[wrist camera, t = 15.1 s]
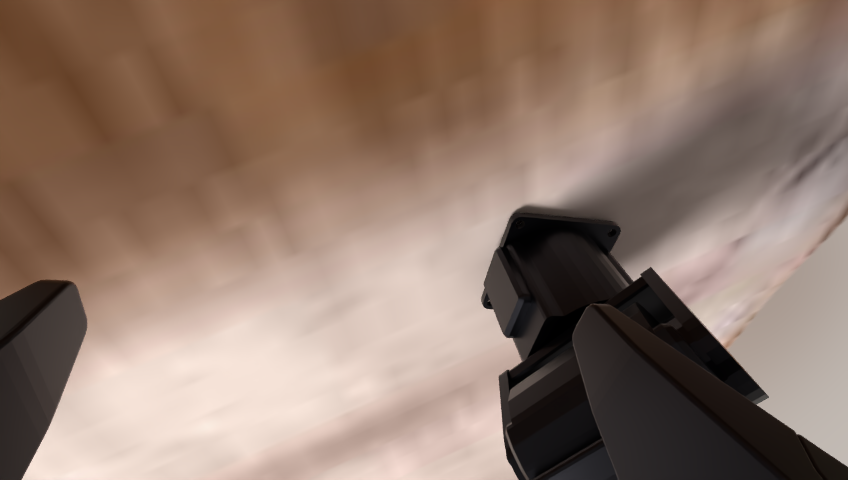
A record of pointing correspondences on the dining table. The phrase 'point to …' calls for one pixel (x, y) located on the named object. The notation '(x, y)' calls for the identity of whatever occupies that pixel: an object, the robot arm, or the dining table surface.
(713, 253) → the dining table surface
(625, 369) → the robot arm
